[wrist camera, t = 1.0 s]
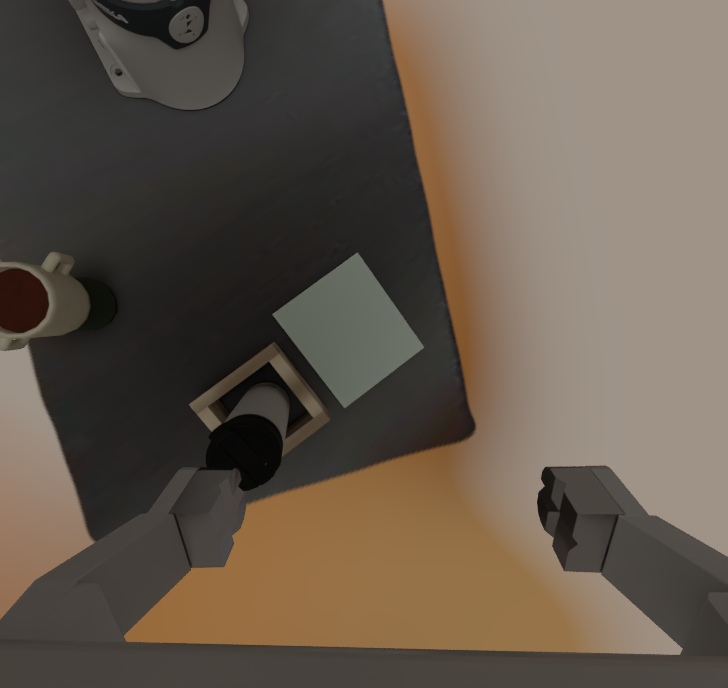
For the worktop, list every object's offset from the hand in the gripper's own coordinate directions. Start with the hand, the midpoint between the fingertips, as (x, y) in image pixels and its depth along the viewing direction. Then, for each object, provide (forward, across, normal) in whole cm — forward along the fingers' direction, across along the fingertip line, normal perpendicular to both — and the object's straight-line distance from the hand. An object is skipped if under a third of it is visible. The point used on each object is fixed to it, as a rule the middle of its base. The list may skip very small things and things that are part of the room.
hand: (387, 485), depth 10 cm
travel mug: (+35, +16, +19) cm, 43 cm away
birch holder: (+35, +16, +19) cm, 43 cm away
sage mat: (+40, +5, +11) cm, 42 cm away
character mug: (+36, +36, +5) cm, 51 cm away
